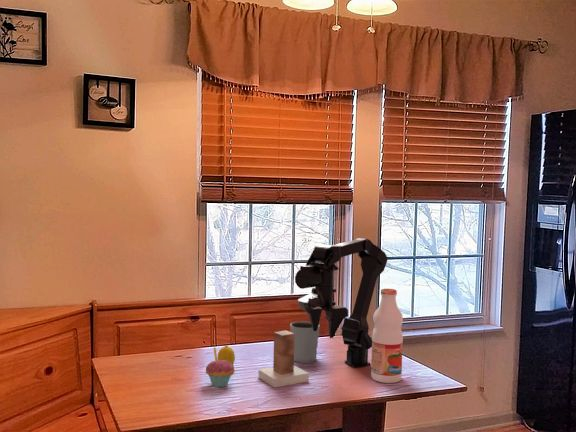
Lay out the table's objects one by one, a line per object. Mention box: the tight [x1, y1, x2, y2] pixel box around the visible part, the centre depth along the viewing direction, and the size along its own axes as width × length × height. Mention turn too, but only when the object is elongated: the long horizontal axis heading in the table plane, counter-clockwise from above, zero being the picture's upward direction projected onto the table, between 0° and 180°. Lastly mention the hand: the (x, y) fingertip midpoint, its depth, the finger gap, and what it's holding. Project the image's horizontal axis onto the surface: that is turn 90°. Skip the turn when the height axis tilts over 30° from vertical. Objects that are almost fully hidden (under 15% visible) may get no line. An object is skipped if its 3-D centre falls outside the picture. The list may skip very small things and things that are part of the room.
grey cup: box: [289, 320, 321, 364], centre depth 201 cm, size 10×10×12 cm
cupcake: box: [205, 345, 236, 388], centre depth 174 cm, size 9×8×12 cm
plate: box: [258, 365, 310, 388], centre depth 180 cm, size 12×10×2 cm
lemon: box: [217, 345, 236, 365], centre depth 187 cm, size 6×6×8 cm
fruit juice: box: [370, 288, 404, 384], centre depth 182 cm, size 9×9×28 cm
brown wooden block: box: [272, 329, 295, 375], centre depth 179 cm, size 4×4×12 cm
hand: (323, 334), depth 184 cm, fingers open, 9 cm apart
